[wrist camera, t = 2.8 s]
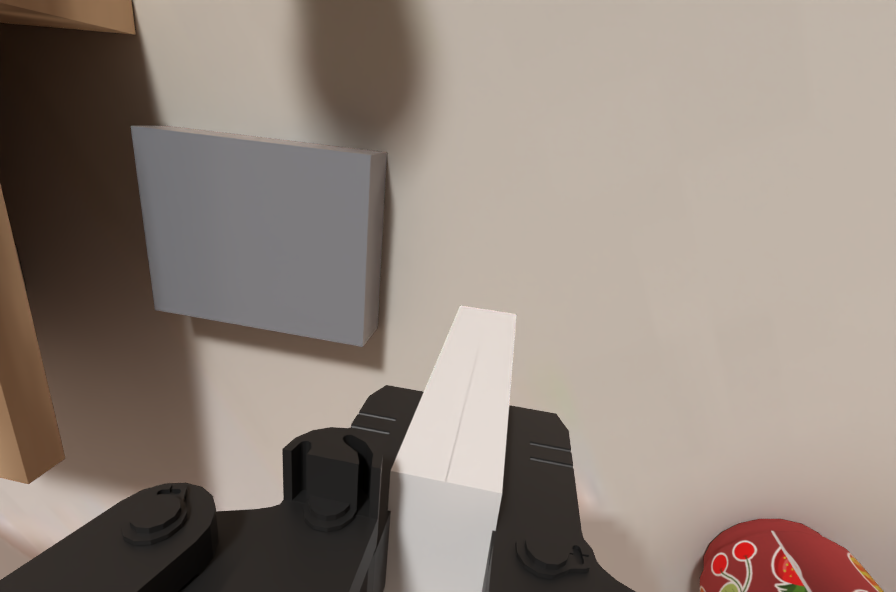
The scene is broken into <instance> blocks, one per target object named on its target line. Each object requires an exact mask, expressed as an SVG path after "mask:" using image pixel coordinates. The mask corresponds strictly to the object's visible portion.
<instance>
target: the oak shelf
mask: <svg viewBox="0 0 896 592" xmlns="http://www.w3.org/2000/svg"><path fill="white" fill-rule="evenodd" d="M0 23H9V24H21V25H32V26H43V27H55V28H66V29H77V30H89V31H100V32H111V33H123V34H134V35H136V34H135V26H134V18H133V9H132V1H131V0H0ZM64 459H65V455H64V450H63V446H62V442H61V438H60V434H59V429H58V425H57V421H56V417H55V412H54V408H53V404H52V400H51V396H50V391H49V387H48V383H47V379H46V374H45V370H44V366H43V362H42V358H41V353H40V349H39V345H38V341H37V336H36V332H35V328H34V324H33V320H32V315H31V311H30V307H29V303H28V298H27V294H26V286H25V282H24V278H23V274H22V269H21V265H20V261H19V257H18V252H17V248H16V246H15V243H14V239H13V235H12V231H11V227H10V222H9V218H8V214H7V210H6V205H5V201H4V197H3V193H2V189H1V184H0V478H4V479H9V480H13V481H17V482H21V483H26V484H30V483H31V482H32V481H34V480H35V479H37V478H38V477H40V476H41V475H42V474H44V473H45V472H47V471H48V470H50V469H51V468H52V467H54V466H55V465H57V464H58V463H59V462H61V461H62V460H64Z"/></svg>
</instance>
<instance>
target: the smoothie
mask: <svg viewBox="0 0 896 592" xmlns="http://www.w3.org/2000/svg"><path fill="white" fill-rule="evenodd" d="M700 592H884V591H883V590H882V589H881V588H880V587H879V585H878V584H877V583H876V582H875V581H874V580H873V578H872V577H871V576H870V575H869V574H868V572H867V571H866V570H865V569H864V568H863V566H862V565H861V564H860V563H859V562H858V561H857V560H856V559H855V558H854V557H853V556H852V554H851V553H850V552H849V551H848V550H847V549H845V548H844V547H842V546H840V545H838V544H836V543H834V542H832V541H831V540H829V539H827V538H825V537H822V536H821V535H820V534H819V533H818V532H816V531H814V530H812V529H811V528H809V527H807V526H805V525H803V524H801V523H796V522H792V521H788V520H783V519H757V520H752V521H748V522H743V523H739V524H737V525H735V526H733V527H731V528H729V529H727V530H725V531H723V532H722V533H721V534H720V535H718V536H717V537H716V538H715V539H714V540H713V541H712V542H711V543H710V545H709V547H708V549H707V551H706V553H705V555H704V570H703V572H702V574H701V576H700Z"/></svg>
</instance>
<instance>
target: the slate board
mask: <svg viewBox="0 0 896 592" xmlns="http://www.w3.org/2000/svg"><path fill="white" fill-rule="evenodd" d="M131 133H132V140H133V148H134V156H135V163H136V171H137V178H138V186H139V193H140V201H141V208H142V216H143V224H144V231H145V239H146V246H147V254H148V261H149V269H150V277H151V284H152V292H153V299H154V307H155V310H158V311H164V312H169V313H175V314H181V315H186V316H192V317H197V318H203V319H209V320H214V321H220V322H225V323H231V324H237V325H242V326H248V327H254V328H259V329H265V330H270V331H276V332H282V333H287V334H293V335H299V336H304V337H310V338H315V339H321V340H327V341H332V342H338V343H344V344H349V345H355V346H360V347H363V346H364V345H365V343H366V342H367V341H368V340H369V338H370V337H371V336H372V335H373V333H374V332H375V331H376V330H377V328H378V312H379V294H380V275H381V257H382V238H383V220H384V201H385V183H386V164H387V152H380V151H372V150H363V149H355V148H347V147H339V146H330V145H322V144H314V143H305V142H297V141H289V140H281V139H272V138H264V137H256V136H248V135H239V134H231V133H223V132H214V131H206V130H198V129H190V128H181V127H173V126H131Z"/></svg>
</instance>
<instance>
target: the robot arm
mask: <svg viewBox="0 0 896 592" xmlns="http://www.w3.org/2000/svg"><path fill="white" fill-rule="evenodd" d="M516 315H517V314H512V313H506V312H499V311H493V310H486V309H480V308H474V307H467V306H461V305H460V307H459V309H458V312H457V314H456V317H455V319H454V321H453V324H452V326H451V328H450V331H449V333H448V336H447V338H446V340H445V343H444V345H443V347H442V350H441V352H440V355H439V357H438V359H437V362H436V364H435V366H434V369H433V371H432V374H431V376H430V378H429V381H428V383H427V386H426V388H425V390H424V392H422V391H416V390H411V389H405V388H399V387H394V386H388V385H386V386H384V387H383V388H381V389H380V390H378V391H376V392H375V393H373V394H372V395H370V396H369V397H368V399H367V400H366V402H365V403H364V405H363V407H362V408H361V410H360V411H359V415H357V416H356V418H355V419H354V421H353V423H352V424H351V428H334V427H330V428H324V429H318V430H312V431H310V432H308V433H305V434H303V435H301V436H299V437H296V438H295V439H294V440H292V441H291V442H290V443H289V444H288V445H287V446H285V447H284V448H283V490H284V500H283V501H282V503H281V504H280V505H276V506H273V507H268V508H261V509H252V510H235V511H217V512H216V508H215V503H214V499H213V496H212V495H211V494H210V493H209V492H207V491H206V490H205V489H204V488H203V487H200V486H196V485H192V484H188V483H170V484H162V485H159V486H155V487H152V488H148V489H144V490H142V491H140V492H138V493H136V494H134V495H132V496H130V497H128V498H126V499H124V500H122V501H120V502H119V503H117V504H116V505H114V506H113V507H111V508H110V509H108V510H107V511H105V512H104V513H102V514H101V515H99V516H97V517H96V518H94V519H93V520H91V521H90V522H88V523H87V524H85V525H84V526H82V527H81V528H79V529H78V530H76V531H75V532H73V533H72V534H70V535H69V536H67V537H65V538H64V539H62V540H61V541H59V542H58V543H56V544H55V545H53V546H52V547H50V548H49V549H47V550H46V551H44V552H43V553H41V554H40V555H38V556H36V557H35V558H33V559H32V560H30V561H29V562H27V563H26V564H24V565H23V566H21V567H20V568H18V569H17V570H15V571H14V572H12V573H11V574H9V575H7V576H6V577H4V578H3V579H1V580H0V592H635V591H634V590H632V589H630V588H628V587H627V586H625V585H624V584H622V583H620V582H618V581H617V580H615V579H614V578H613V577H612V576H611V575H610V574H608V573H607V572H606V571H605V570H604V569H603V568H602V567H601V566H600V565H599V564H598V562H597V561H596V558H595V555H594V553H593V550H592V548H591V547H590V546H589V545H588V543H587V542H586V541H585V540H584V538H583V535H582V531H581V523H580V515H579V508H578V500H577V492H576V484H575V477H574V469H573V461H572V453H571V445H570V438H569V431H568V429H567V428H566V427H565V425H564V424H563V422H562V421H561V420H560V418H559V417H558V416H557V414H555V413H549V412H544V411H538V410H532V409H527V408H521V407H516V406H510V405H509V401H510V389H511V377H512V364H513V352H514V339H515V327H516Z"/></svg>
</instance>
